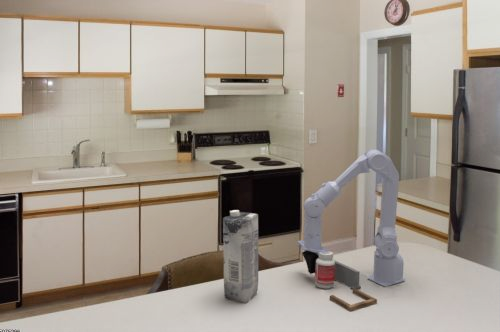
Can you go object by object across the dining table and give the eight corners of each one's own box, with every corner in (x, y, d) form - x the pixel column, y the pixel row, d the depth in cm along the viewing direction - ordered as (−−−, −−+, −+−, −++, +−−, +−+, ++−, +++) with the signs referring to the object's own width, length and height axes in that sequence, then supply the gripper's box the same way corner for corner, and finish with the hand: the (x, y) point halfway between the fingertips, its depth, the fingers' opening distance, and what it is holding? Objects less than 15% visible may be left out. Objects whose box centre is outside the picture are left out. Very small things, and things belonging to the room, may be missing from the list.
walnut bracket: (355, 292, 147) (355, 288, 147) (376, 303, 139) (376, 299, 139) (329, 299, 142) (329, 295, 142) (350, 311, 134) (350, 307, 134)
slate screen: (332, 274, 162) (332, 258, 161) (360, 288, 150) (361, 271, 149) (325, 276, 160) (325, 259, 159) (353, 290, 148) (354, 272, 147)
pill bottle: (337, 287, 151) (339, 254, 150) (321, 290, 148) (323, 256, 147) (326, 281, 157) (328, 248, 155) (310, 283, 154) (312, 250, 153)
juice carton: (261, 292, 148) (261, 208, 144) (247, 305, 138) (246, 216, 134) (236, 287, 152) (235, 206, 148) (220, 300, 142) (219, 213, 138)
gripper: (290, 229, 160) (290, 267, 162) (316, 241, 147) (316, 282, 149) (307, 226, 163) (306, 264, 165) (334, 237, 151) (333, 277, 153)
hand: (312, 272), depth 158 cm, fingers closed
